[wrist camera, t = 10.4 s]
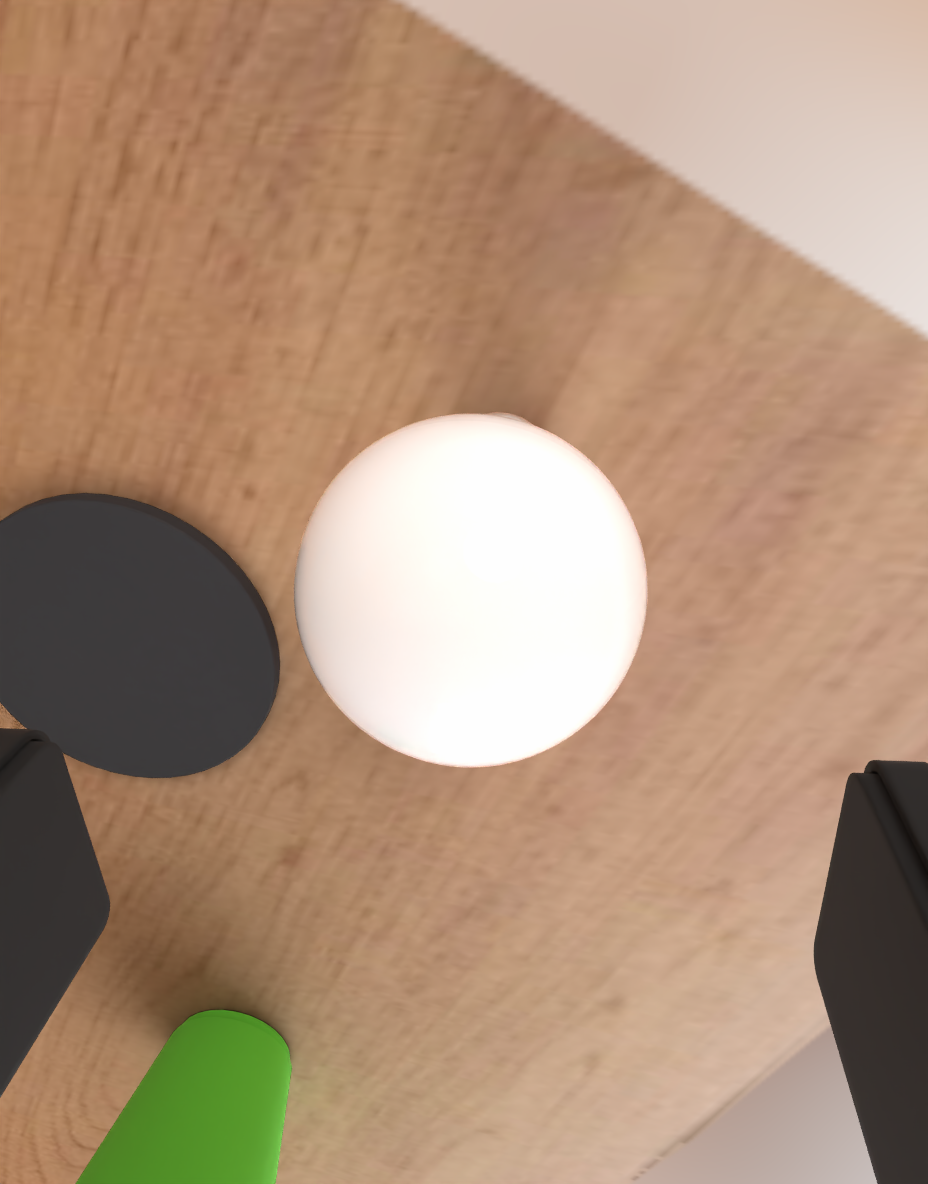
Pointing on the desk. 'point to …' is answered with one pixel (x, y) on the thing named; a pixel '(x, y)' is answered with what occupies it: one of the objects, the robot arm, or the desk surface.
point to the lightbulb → (470, 590)
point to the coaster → (130, 637)
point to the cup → (203, 1109)
